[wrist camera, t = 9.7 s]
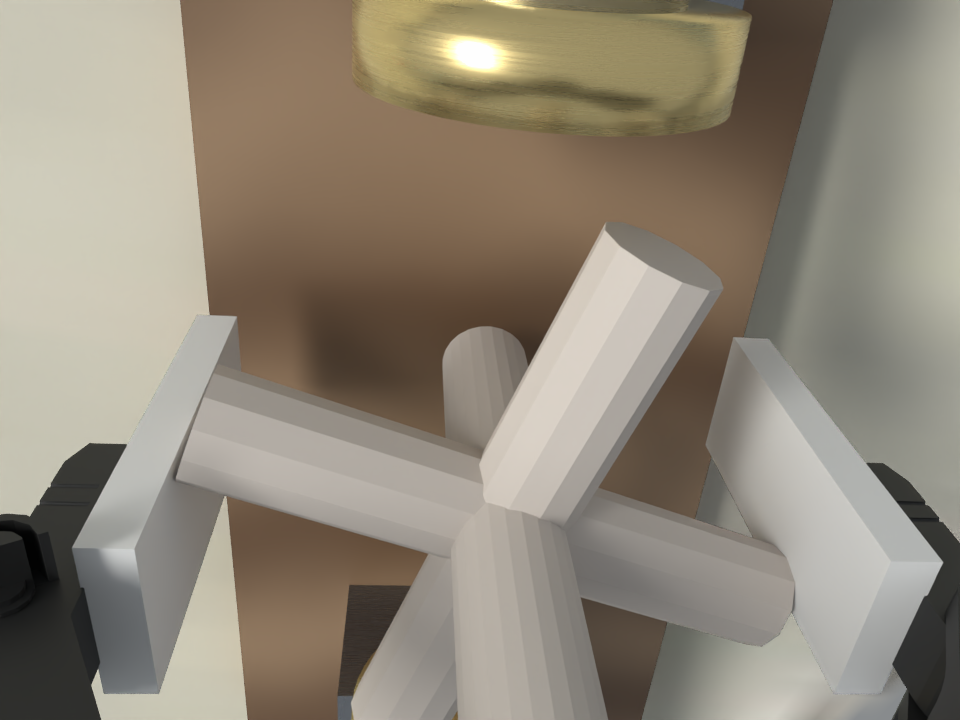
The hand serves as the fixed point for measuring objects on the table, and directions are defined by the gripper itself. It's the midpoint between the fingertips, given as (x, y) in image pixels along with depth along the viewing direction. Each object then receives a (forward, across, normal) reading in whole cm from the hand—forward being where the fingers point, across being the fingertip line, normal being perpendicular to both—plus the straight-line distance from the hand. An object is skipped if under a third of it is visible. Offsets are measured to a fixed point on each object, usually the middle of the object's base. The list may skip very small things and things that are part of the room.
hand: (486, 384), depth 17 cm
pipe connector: (+1, 0, 0) cm, 1 cm away
